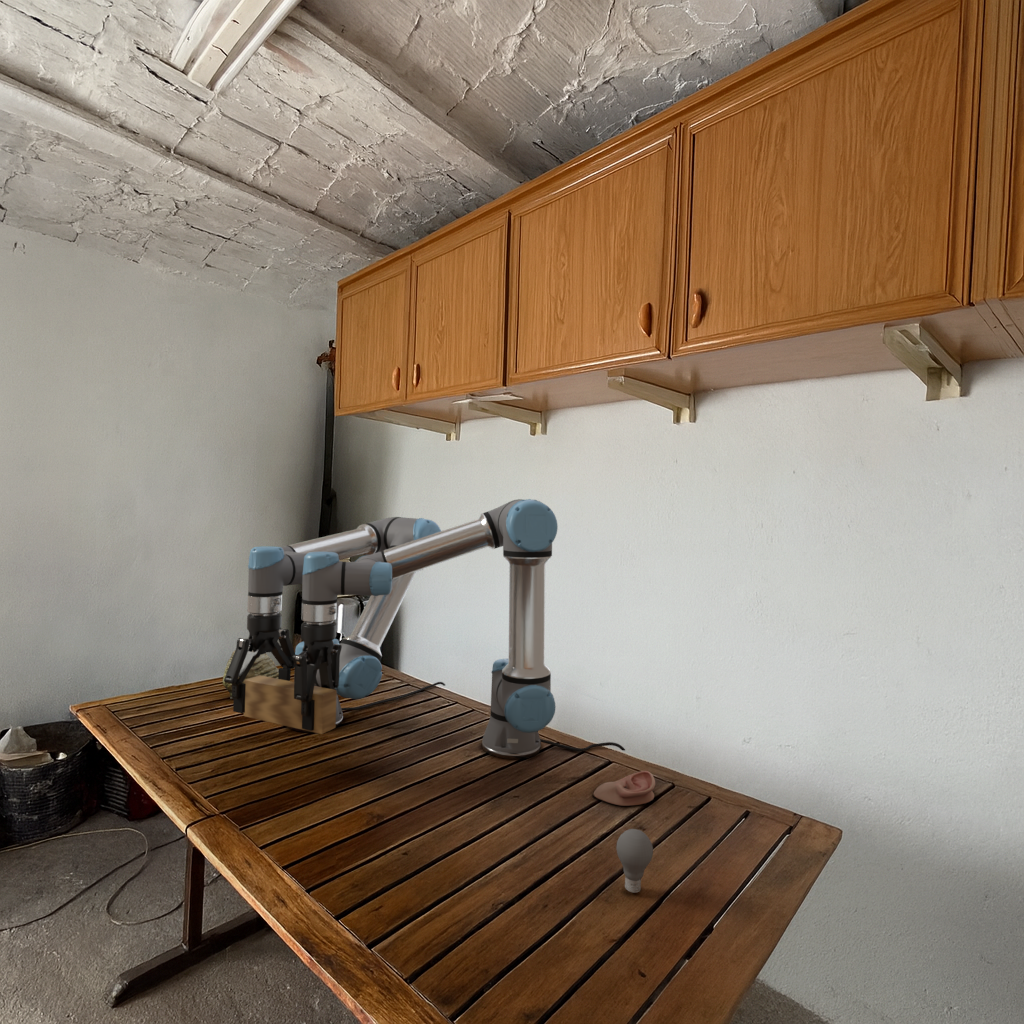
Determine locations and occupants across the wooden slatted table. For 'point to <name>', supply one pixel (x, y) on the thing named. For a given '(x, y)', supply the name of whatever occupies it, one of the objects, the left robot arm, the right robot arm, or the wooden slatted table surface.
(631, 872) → the light bulb
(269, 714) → the bar
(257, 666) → the fossil
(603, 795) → the anatomical model
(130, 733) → the wooden slatted table surface
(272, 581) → the left robot arm
